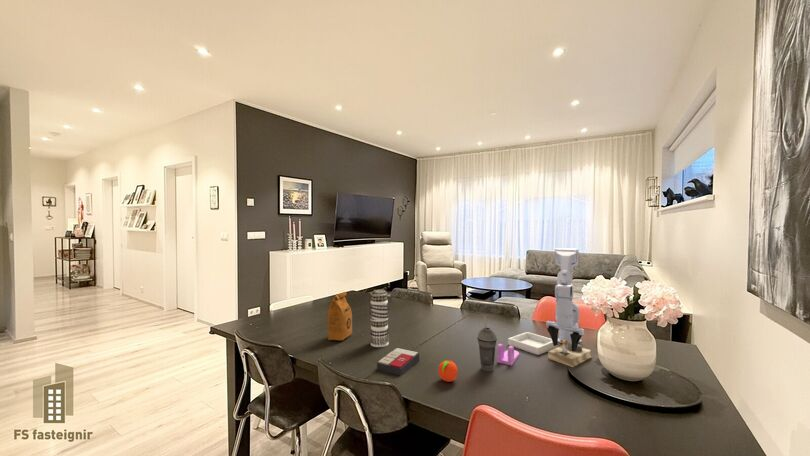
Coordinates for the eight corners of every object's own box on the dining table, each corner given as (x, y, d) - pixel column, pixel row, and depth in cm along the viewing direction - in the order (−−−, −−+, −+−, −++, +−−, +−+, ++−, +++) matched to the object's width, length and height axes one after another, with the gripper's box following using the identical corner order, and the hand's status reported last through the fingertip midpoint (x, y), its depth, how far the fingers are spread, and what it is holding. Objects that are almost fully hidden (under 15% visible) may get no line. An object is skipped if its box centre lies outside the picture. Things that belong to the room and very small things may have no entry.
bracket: (511, 365, 127) (511, 348, 127) (497, 362, 130) (497, 345, 130) (520, 354, 137) (520, 338, 137) (507, 352, 140) (507, 336, 140)
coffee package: (355, 334, 165) (355, 291, 165) (342, 343, 153) (342, 296, 153) (338, 332, 168) (338, 290, 168) (324, 340, 156) (324, 295, 156)
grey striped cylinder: (366, 345, 149) (365, 291, 149) (375, 339, 158) (374, 288, 157) (384, 348, 146) (383, 293, 145) (392, 341, 154) (391, 289, 154)
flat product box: (376, 361, 124) (396, 346, 137) (376, 371, 125) (396, 356, 138) (400, 367, 119) (419, 351, 132) (401, 378, 119) (419, 361, 132)
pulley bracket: (567, 350, 141) (566, 337, 141) (591, 357, 133) (591, 344, 133) (548, 358, 132) (548, 345, 132) (572, 367, 124) (572, 352, 124)
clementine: (451, 388, 109) (451, 367, 109) (433, 383, 113) (433, 363, 113) (461, 379, 116) (460, 359, 116) (443, 374, 120) (443, 355, 120)
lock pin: (563, 358, 132) (562, 339, 132) (569, 360, 130) (569, 341, 130) (559, 360, 131) (559, 340, 131) (566, 362, 128) (566, 342, 128)
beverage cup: (486, 374, 119) (486, 320, 119) (473, 367, 125) (473, 315, 125) (501, 370, 122) (500, 317, 122) (488, 363, 129) (487, 313, 129)
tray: (527, 337, 157) (527, 331, 157) (557, 347, 145) (557, 340, 145) (508, 344, 148) (508, 338, 148) (538, 355, 136) (538, 348, 136)
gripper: (542, 312, 134) (542, 345, 134) (577, 320, 122) (578, 356, 122) (551, 309, 138) (551, 341, 138) (586, 317, 126) (586, 351, 126)
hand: (564, 348), depth 130 cm, fingers open, 7 cm apart
